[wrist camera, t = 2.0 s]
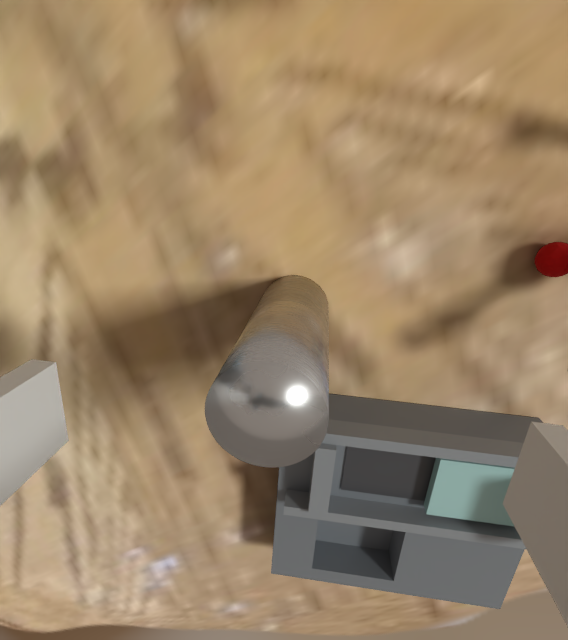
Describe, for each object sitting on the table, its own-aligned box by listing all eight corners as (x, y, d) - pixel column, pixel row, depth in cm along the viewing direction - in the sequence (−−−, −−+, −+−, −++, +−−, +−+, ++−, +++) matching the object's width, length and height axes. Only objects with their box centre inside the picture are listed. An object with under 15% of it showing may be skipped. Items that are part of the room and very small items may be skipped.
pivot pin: (260, 335, 21) (205, 459, 12) (263, 272, 20) (204, 354, 10) (324, 341, 21) (321, 475, 11) (331, 278, 19) (335, 368, 10)
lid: (423, 505, 20) (442, 569, 17) (437, 451, 19) (460, 508, 16) (539, 521, 20) (581, 590, 16) (561, 467, 19) (612, 530, 15)
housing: (276, 538, 26) (267, 599, 22) (288, 389, 22) (279, 433, 18) (484, 569, 25) (512, 639, 21) (539, 418, 21) (586, 471, 17)
